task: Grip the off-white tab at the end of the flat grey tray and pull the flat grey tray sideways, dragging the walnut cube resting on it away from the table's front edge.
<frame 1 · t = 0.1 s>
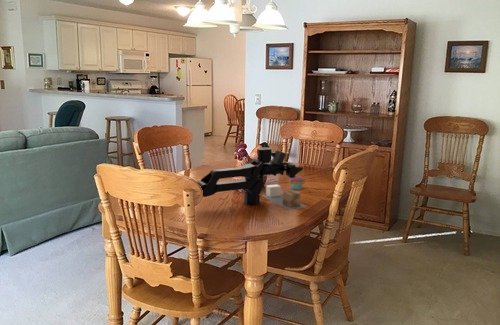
hand: (297, 166, 209), 17 cm above the table, tool horizontal, fingers open, 9 cm apart
cube: (291, 204, 199), point 1 cm above the table, touching flat grey tray
cupcake: (296, 188, 231), on the table
flat grey tray: (283, 196, 205), point 3 cm above the table, slide at 0.0 cm, touching cube
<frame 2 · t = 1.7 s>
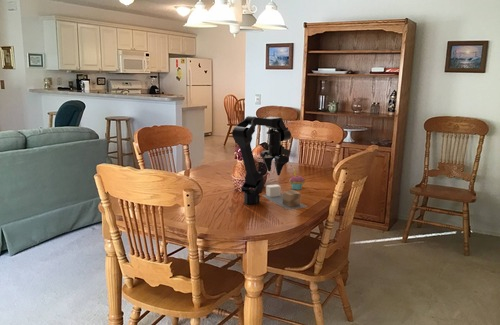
hand: (273, 173, 211), 12 cm above the table, tool pointing down, fingers open, 9 cm apart
nothing on the table moved.
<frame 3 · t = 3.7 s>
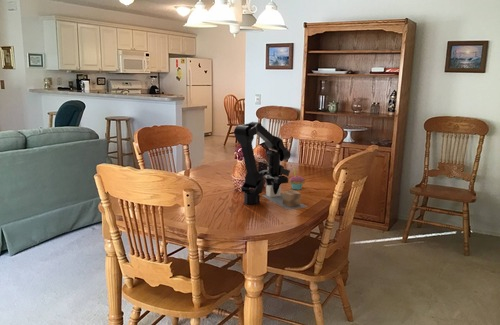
hand: (273, 192, 213), 2 cm above the table, tool pointing down, fingers closed on flat grey tray, 4 cm apart
flat grey tray: (283, 196, 205), point 3 cm above the table, slide at 0.0 cm, touching cube, gripper
everything else where it was.
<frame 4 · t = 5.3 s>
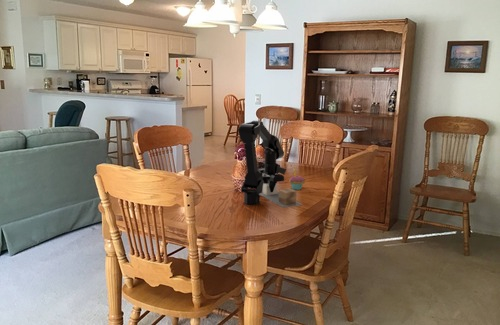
hand: (269, 191, 217), 2 cm above the table, tool pointing down, fingers closed on flat grey tray, 4 cm apart
cube: (287, 202, 202), point 1 cm above the table, touching flat grey tray
flat grey tray: (279, 194, 208), point 3 cm above the table, slide at 3.7 cm, touching cube, gripper
everything else where it was.
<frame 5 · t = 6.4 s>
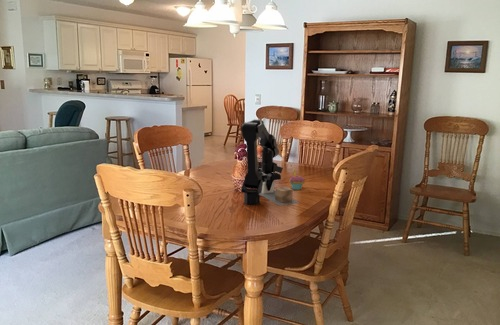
hand: (266, 189, 219), 2 cm above the table, tool pointing down, fingers closed on flat grey tray, 4 cm apart
cube: (283, 200, 205), point 1 cm above the table, touching flat grey tray
flat grey tray: (276, 192, 211), point 3 cm above the table, slide at 6.9 cm, touching cube, gripper
everything else where it was.
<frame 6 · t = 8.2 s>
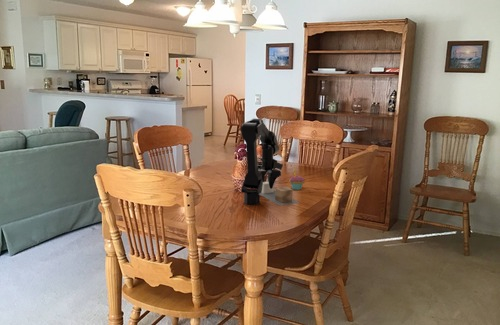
hand: (266, 186, 219), 4 cm above the table, tool pointing down, fingers open, 9 cm apart
flat grey tray: (276, 192, 211), point 3 cm above the table, slide at 7.0 cm, touching cube
everything else where it was.
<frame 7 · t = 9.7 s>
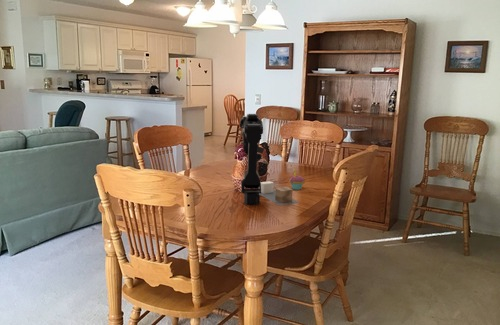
hand: (248, 170, 219), 12 cm above the table, tool pointing down, fingers open, 9 cm apart
nothing on the table moved.
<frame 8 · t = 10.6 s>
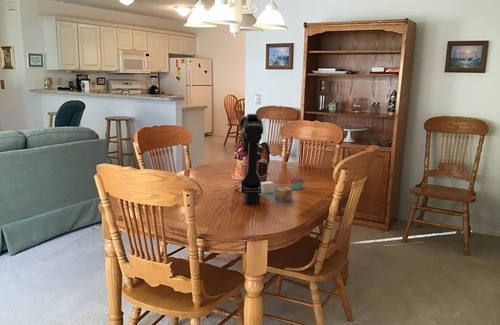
hand: (248, 170, 219), 12 cm above the table, tool pointing down, fingers open, 9 cm apart
nothing on the table moved.
at the end: flat grey tray slide at 7.0 cm; cube inside the target area (0.5 cm from its centre), point 0.9 cm above the table; cube tilted 0° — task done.
